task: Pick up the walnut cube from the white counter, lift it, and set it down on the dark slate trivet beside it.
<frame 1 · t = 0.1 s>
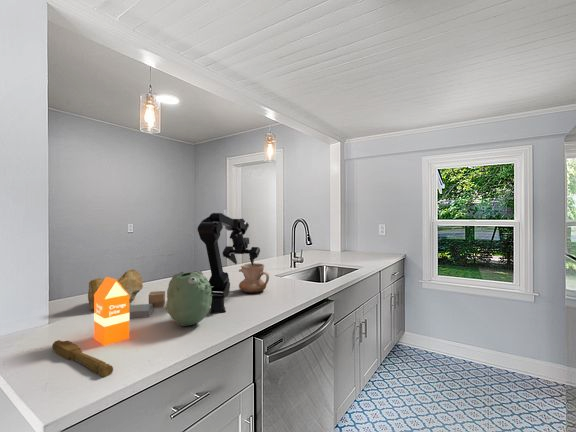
hand: (244, 264, 161), 15 cm above the worktop, tool tilted 35°, fingers open, 9 cm apart
orange juice: (111, 339, 101), on the worktop
cube: (157, 306, 137), on the worktop
rough brown rock: (112, 304, 140), on the worktop
tap handle: (79, 362, 86), on the worktop
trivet: (137, 313, 126), on the worktop
ceramic jug: (253, 291, 164), on the worktop
green bumpy vase: (188, 325, 114), on the worktop
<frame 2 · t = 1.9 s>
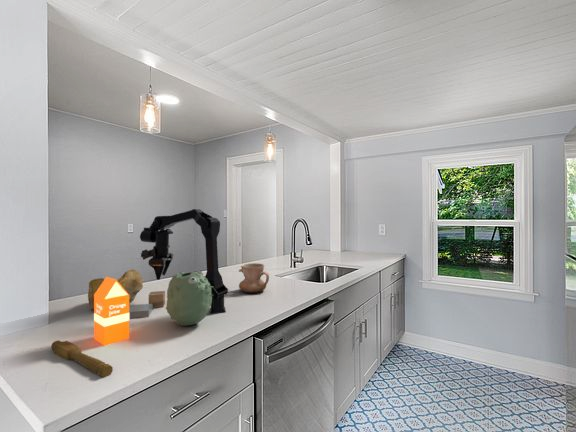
hand: (161, 277, 140), 12 cm above the worktop, tool pointing down, fingers open, 9 cm apart
nothing on the worktop moved.
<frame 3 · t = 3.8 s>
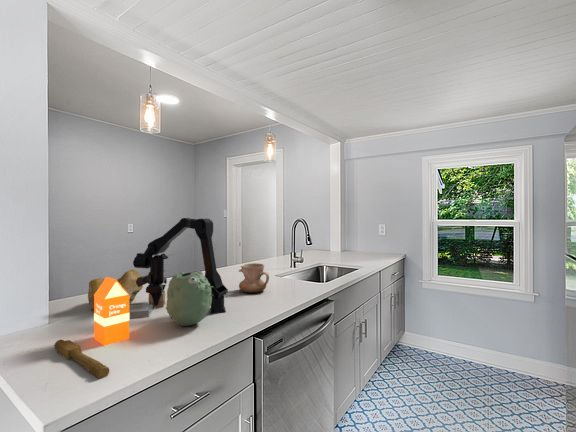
hand: (157, 303, 137), 1 cm above the worktop, tool pointing down, fingers closed on cube, 6 cm apart
cube: (157, 305, 137), on the worktop, touching gripper
everything else where it was.
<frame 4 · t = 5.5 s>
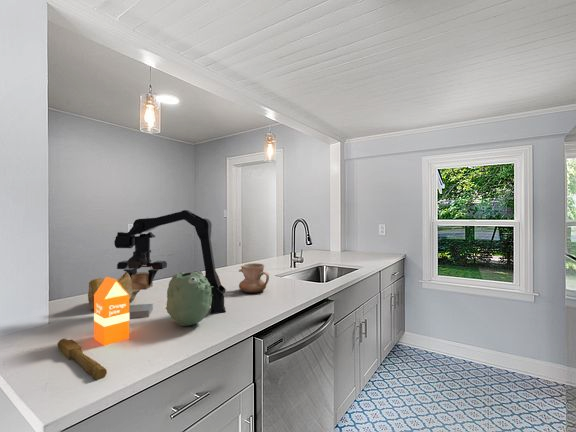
hand: (142, 285, 129), 11 cm above the worktop, tool pointing down, fingers closed on cube, 6 cm apart
cube: (142, 287, 129), point 10 cm above the worktop, touching gripper
everything else where it was.
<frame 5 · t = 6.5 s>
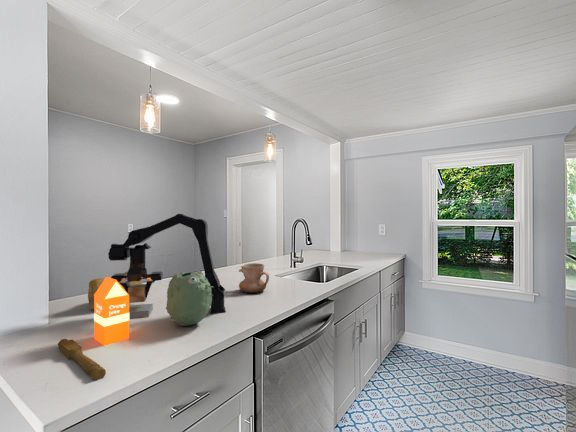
hand: (137, 297, 126), 7 cm above the worktop, tool pointing down, fingers closed on cube, 6 cm apart
cube: (137, 300, 126), point 6 cm above the worktop, touching gripper
everything else where it was.
when the fingers open (5 cm above the worktop, at t = 7.3 s): cube drops 1 cm, resting on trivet.
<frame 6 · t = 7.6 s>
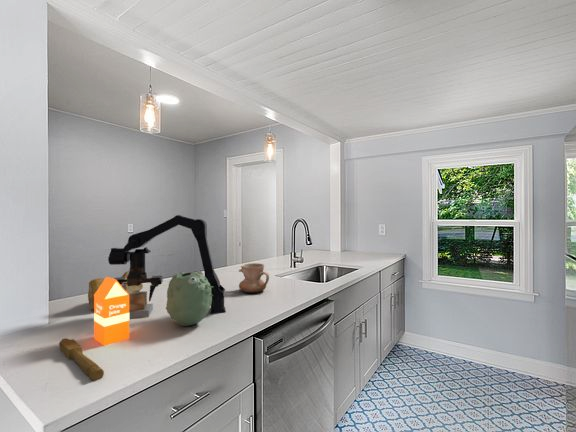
hand: (137, 301, 126), 5 cm above the worktop, tool pointing down, fingers open, 9 cm apart
cube: (137, 307, 126), point 2 cm above the worktop, touching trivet
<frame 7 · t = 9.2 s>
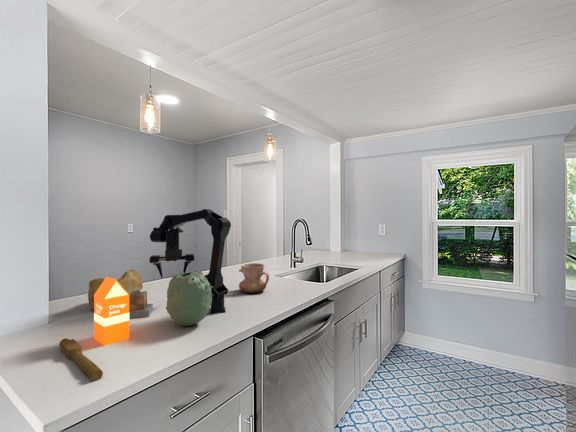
hand: (172, 277, 138), 13 cm above the worktop, tool pointing down, fingers open, 9 cm apart
nothing on the worktop moved.
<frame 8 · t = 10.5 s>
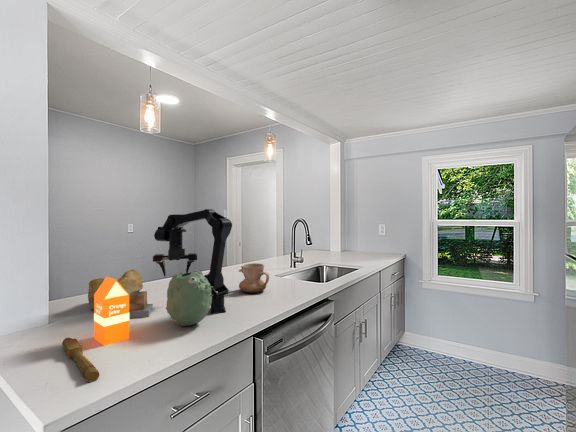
hand: (175, 276, 139), 13 cm above the worktop, tool pointing down, fingers open, 9 cm apart
at the end: cube inside the target area on the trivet (0.0 cm from its centre), point 2.5 cm above the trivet's base; cube tilted 0°; the gripper is holding nothing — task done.
